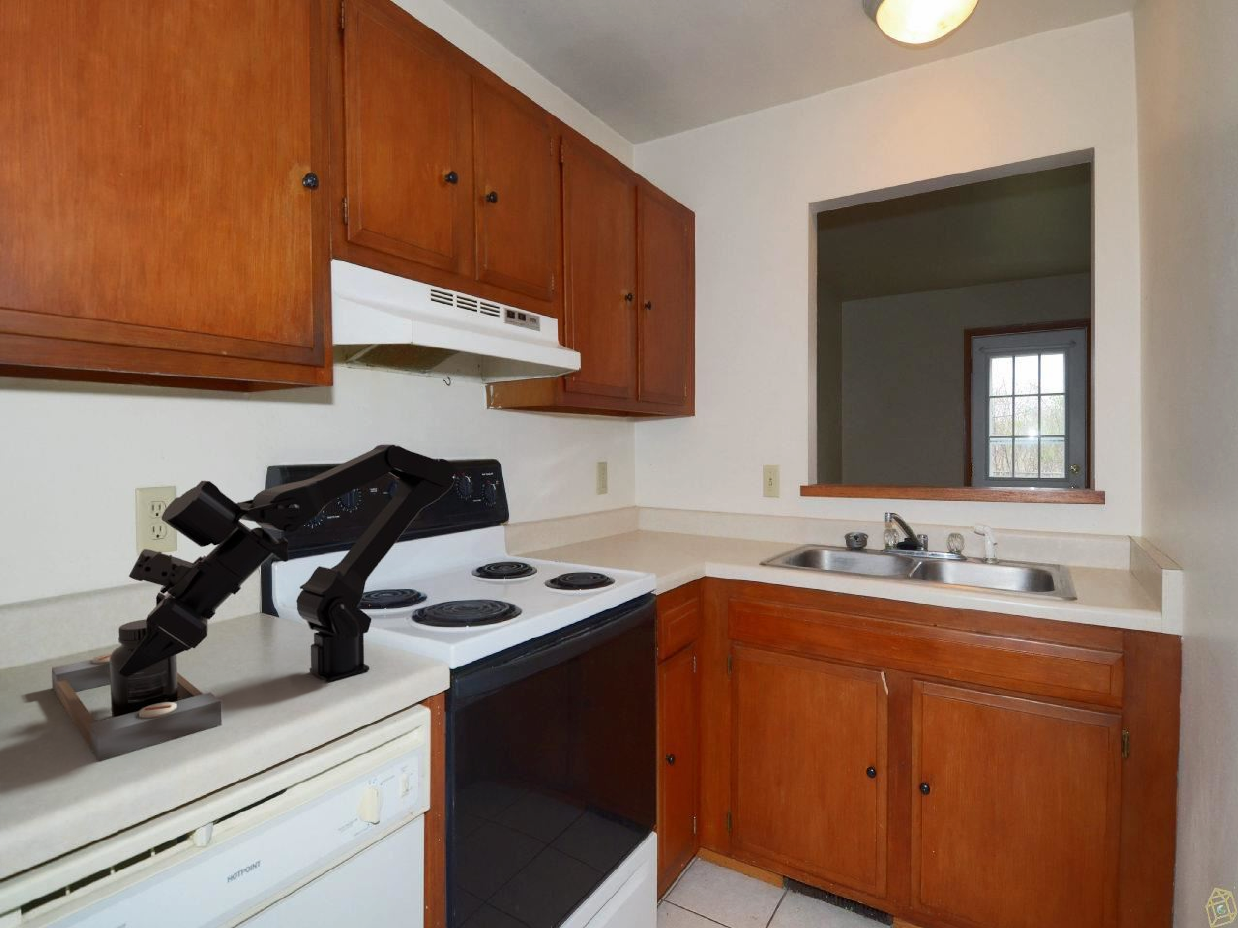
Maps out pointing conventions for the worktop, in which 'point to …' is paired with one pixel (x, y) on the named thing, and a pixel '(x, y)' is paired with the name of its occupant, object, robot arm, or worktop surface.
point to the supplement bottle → (139, 675)
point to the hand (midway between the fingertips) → (127, 662)
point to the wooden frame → (133, 727)
